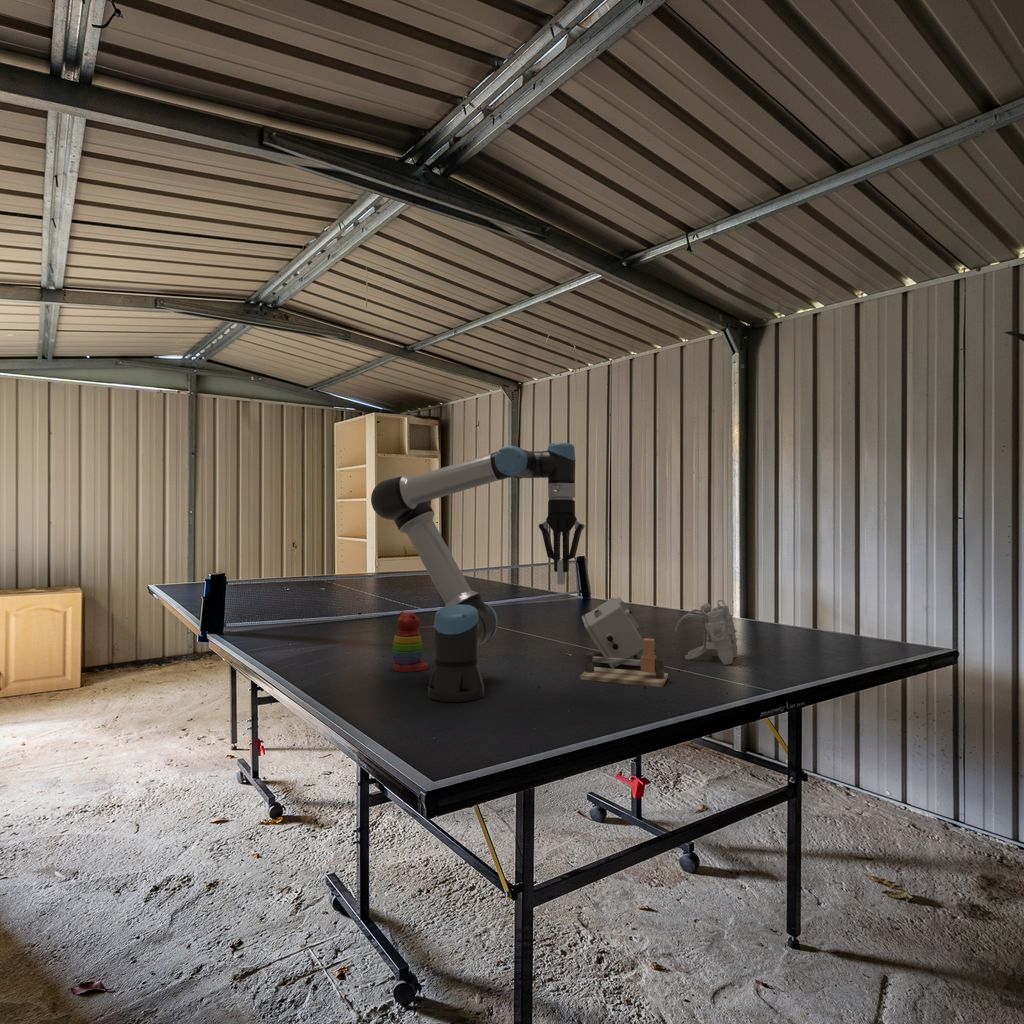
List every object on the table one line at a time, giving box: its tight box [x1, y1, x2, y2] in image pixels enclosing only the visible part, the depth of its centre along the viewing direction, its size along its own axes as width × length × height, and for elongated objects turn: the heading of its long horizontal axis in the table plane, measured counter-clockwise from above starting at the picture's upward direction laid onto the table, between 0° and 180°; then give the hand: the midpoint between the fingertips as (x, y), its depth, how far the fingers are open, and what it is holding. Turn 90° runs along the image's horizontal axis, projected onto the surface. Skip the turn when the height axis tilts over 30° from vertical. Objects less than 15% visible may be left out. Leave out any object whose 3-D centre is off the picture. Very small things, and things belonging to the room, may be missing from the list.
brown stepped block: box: [640, 637, 658, 673], centre depth 192 cm, size 4×4×9 cm
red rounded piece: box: [391, 611, 430, 673], centre depth 207 cm, size 11×10×18 cm
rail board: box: [579, 652, 669, 688], centre depth 195 cm, size 24×12×6 cm, turn 70°
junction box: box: [581, 596, 644, 669], centre depth 216 cm, size 24×15×22 cm
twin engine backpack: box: [674, 599, 738, 665], centre depth 221 cm, size 18×19×20 cm
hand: (561, 583), depth 182 cm, fingers closed
